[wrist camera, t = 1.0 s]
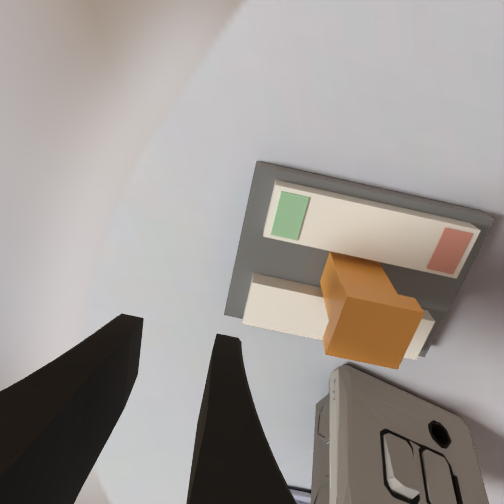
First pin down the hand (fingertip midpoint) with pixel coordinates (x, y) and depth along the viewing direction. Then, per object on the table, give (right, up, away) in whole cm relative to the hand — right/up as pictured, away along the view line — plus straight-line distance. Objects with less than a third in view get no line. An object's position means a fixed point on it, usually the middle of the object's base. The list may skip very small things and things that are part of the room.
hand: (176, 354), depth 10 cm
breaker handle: (+7, +2, +8) cm, 10 cm away
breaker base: (+7, +2, +9) cm, 11 cm away
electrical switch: (+10, -8, +13) cm, 18 cm away
